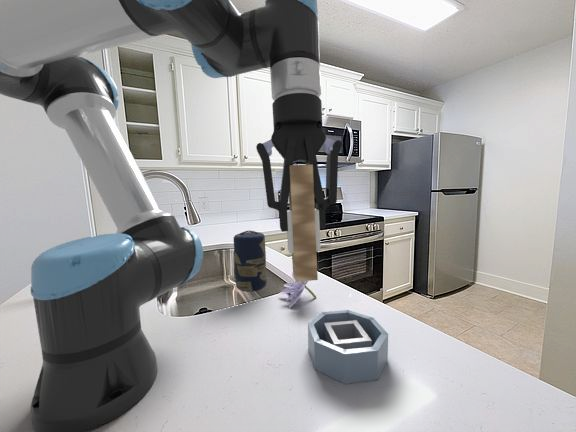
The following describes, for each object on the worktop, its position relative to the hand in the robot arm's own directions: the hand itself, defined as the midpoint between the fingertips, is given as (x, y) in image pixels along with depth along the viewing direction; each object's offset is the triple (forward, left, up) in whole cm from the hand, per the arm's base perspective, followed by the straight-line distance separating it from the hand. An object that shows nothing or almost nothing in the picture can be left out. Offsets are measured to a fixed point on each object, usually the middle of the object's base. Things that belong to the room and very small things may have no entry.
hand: (303, 249), depth 40 cm
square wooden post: (0, 0, -5) cm, 5 cm away
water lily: (+3, +26, -21) cm, 34 cm away
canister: (-10, +36, -21) cm, 42 cm away
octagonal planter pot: (+8, +2, -20) cm, 22 cm away
